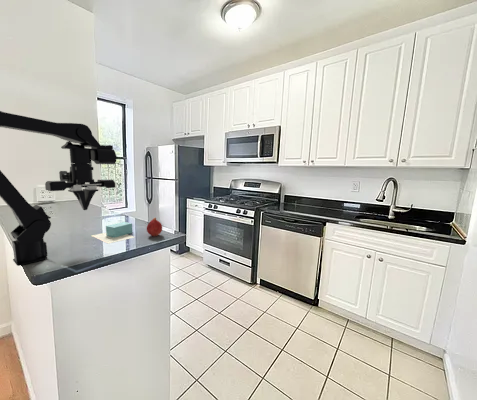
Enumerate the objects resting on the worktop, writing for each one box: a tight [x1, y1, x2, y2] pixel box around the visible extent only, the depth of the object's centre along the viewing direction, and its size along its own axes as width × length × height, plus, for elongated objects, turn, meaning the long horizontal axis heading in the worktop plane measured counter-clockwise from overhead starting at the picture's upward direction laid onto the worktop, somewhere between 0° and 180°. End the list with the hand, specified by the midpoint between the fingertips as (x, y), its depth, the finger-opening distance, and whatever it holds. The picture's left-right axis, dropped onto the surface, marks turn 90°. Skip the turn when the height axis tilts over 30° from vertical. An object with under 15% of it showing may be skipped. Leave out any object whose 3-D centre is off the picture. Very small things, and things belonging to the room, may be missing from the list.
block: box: [105, 221, 134, 238], centre depth 91 cm, size 4×5×8 cm
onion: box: [146, 217, 163, 237], centre depth 89 cm, size 6×6×8 cm
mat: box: [91, 232, 135, 245], centre depth 88 cm, size 10×15×1 cm, turn 53°
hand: (85, 210), depth 76 cm, fingers closed
